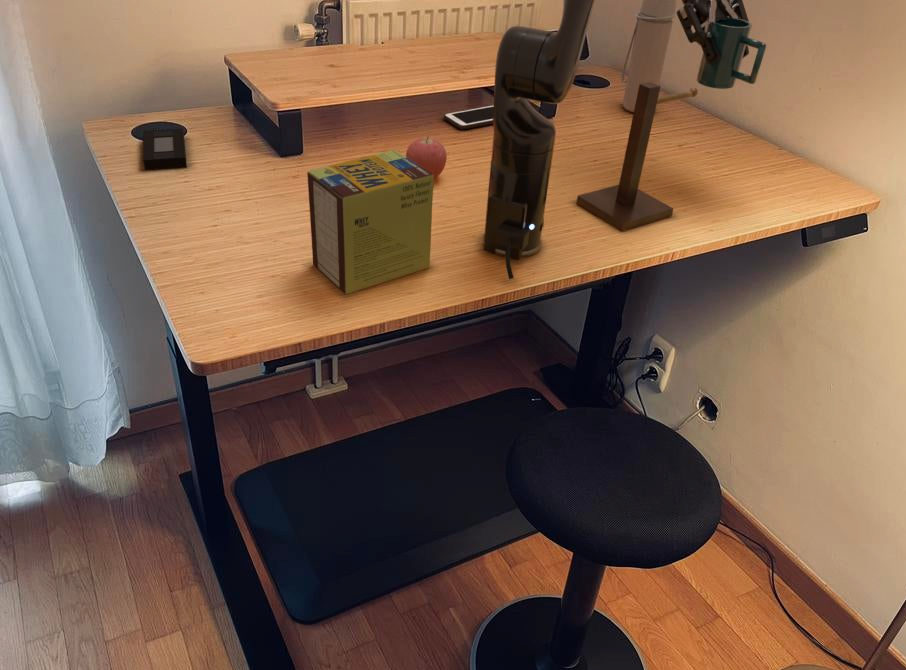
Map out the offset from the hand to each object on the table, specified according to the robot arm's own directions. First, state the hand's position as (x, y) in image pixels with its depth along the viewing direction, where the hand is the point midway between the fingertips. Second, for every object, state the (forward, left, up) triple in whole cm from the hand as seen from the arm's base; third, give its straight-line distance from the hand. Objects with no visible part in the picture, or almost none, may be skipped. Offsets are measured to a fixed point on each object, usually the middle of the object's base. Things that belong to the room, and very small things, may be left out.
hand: (729, 59), depth 134 cm
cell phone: (+9, +49, -24) cm, 55 cm away
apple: (-24, +45, -24) cm, 57 cm away
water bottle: (+36, +22, -24) cm, 48 cm away
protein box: (-57, +37, -24) cm, 72 cm away
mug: (0, -1, -4) cm, 5 cm away
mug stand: (-14, +8, -24) cm, 28 cm away
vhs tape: (-42, +93, -24) cm, 104 cm away
